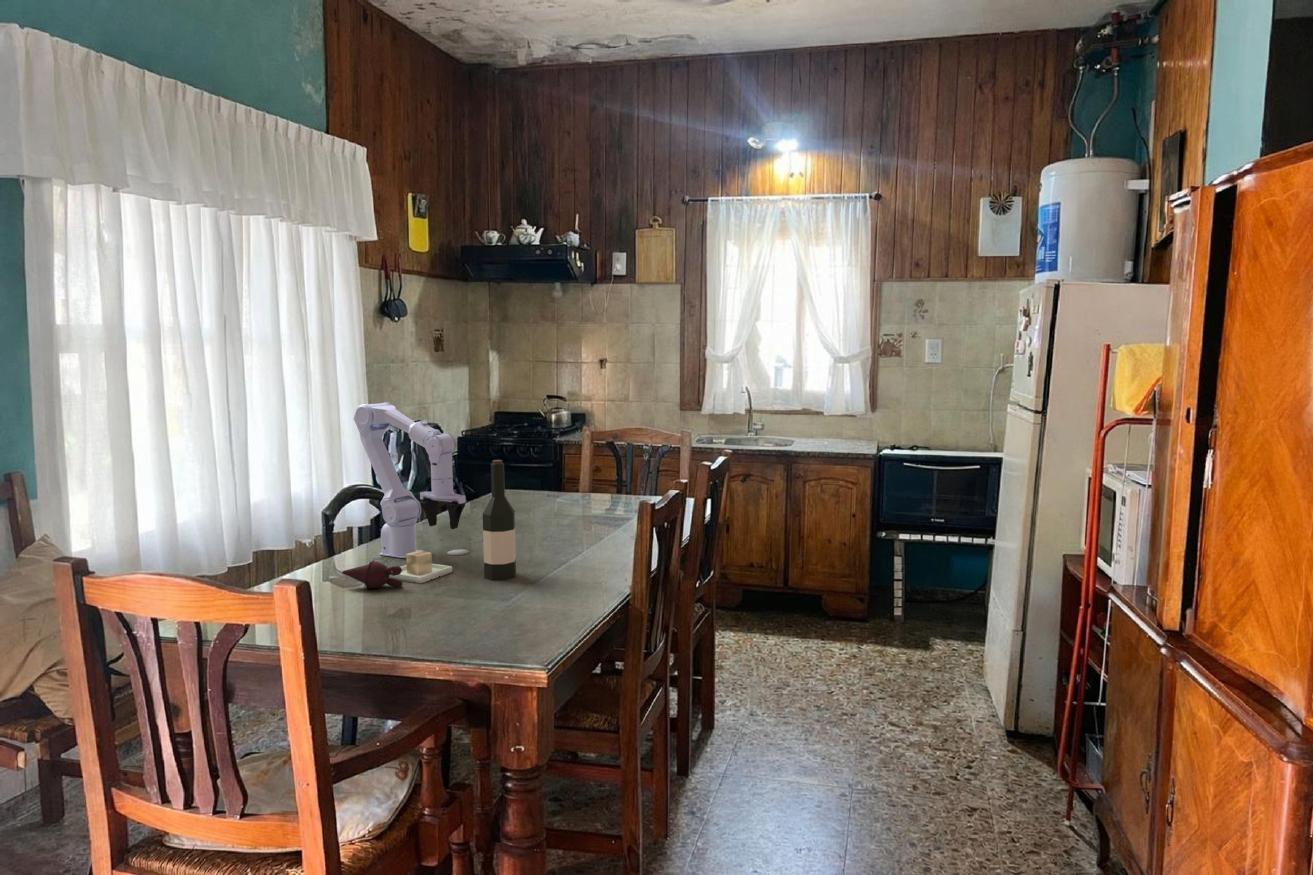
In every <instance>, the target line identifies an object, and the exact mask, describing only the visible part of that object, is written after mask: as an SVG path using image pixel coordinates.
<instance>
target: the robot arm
mask: <svg viewBox="0 0 1313 875" xmlns="http://www.w3.org/2000/svg"><path fill="white" fill-rule="evenodd" d="M353 421H354V423H355V425H356V427H357V429H358V432H359V436H360V441H361V444H362V447H363V448H364V451H365V453H366V455H367V458H368V459H369V462H370V464H371V467H372V469H373V471H374V474H375V476H376V478H377V480H378V483H379V485H380V488H381V490H382V492H383V494H384V495H383V497H382V499H381V501H380V503H379V504H380V505H379V506H380V507H381V512H382V518H383V520H384V522H385V523H384V525H383V526H382V528H381V530H380V544H381V546H380V548H381V550H380V551H381V552H379V555H380V556H385V557H392V558H400V559H406V554H408V553H412V552H416V551H423V550H421V549H418V548H417V524H416V523H418V518H419V517H420V516H421V514H422V509H423V511H424V514H425V516H426V519H427V522H428V525H429V527H435V526H437V521H438V507H439V504H440V502H446V504H445V506H446V509H447V513H448V516H449V527H450V529H451V530H455V529H458V526H459V521H460V518H461V515H462V514H463V511H464V508H465V506H466V495H462V494H459V493H456V492H454V487H453V486H454V482H453V480H454V478H453V476H454V475H453V453H455V451H456V449H457V441H456V438H455V437H454V435H452V434H451V433H450V432H444V433H442V432H441V431H440V430H439V429H435V428H433V427H431V426H430V425H429V424H428V422H426V421H425V420H424V421H416V422H415V421H414V420H412V419H411V418H410V417H408V416H406V415H405V414H404V413H402V412H400V411H399V410H398V409H397V408H396V406H395V405H392V404H391V403H389V402H385V401H384V402H382V403H370V404H369V403H368V404H365V403H362V404H359V405H358V406H357V407H356V409H355V412H354V415H353ZM390 426H393V427H395V428H397V429H399V430H401V431H403V432H405V433H407V434H408V437H409V439H410V440H411V441H413V442H414V443H416V444H418V445H419V446H421V447H423V448H424V449H425V451H426V453H427V455H428V460H429V462H430V478H431V479H430V481H431V482H430V484H431V487H430V488H431V491H421V492H419V499H420V500H422V501H419V500H418V499H417V498H416V497H415V496H414V493H413V492H412V491H410V490H409V489H407V488H405V487H404V486H403V483H402V481H401V479H400V476H399V475H398V472H397V470H396V467H395V465H394V462H393V461H392V458H391V456H390V454H389V452H388V449H387V447H386V445H385V442H384V441H383V436H384V435H385V434H386V432H387V431H388V430H389V428H390Z"/></svg>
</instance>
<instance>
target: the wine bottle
mask: <svg viewBox="0 0 1313 875" xmlns="http://www.w3.org/2000/svg"><path fill="white" fill-rule="evenodd" d="M490 482H491V483H490V484H491V497H490V499H489V501H488V503H487V505H486V506H485V509H484V510H483V512H482V532H483V533H482V537H483V538H482V542H483V546H482V548H483V572H484V573H483V574H484V578H483V579H486V580H489V581H491V582H493V581H495V582H496V581H508V580H511V579H514V578H516V576H517V562H516V560H517V558H516V557H517V556H516V553H517V552H516V522H515V521H516V519H515V518H516V514H515V510H514V507H513V506H512V505H511V502H510V501H509V500H508V499H507V497H506V492H505V488H506V487H505V463H503V460H502V459H494V460H492V463H490Z"/></svg>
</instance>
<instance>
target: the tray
mask: <svg viewBox="0 0 1313 875" xmlns="http://www.w3.org/2000/svg"><path fill="white" fill-rule="evenodd" d="M400 567H401V569H402V572H401V573H400V574H399V575H395V576H392V575H389V578H394V579H398V580H400V581H401V580H402V581H401V582H403V581H404V582H408V583H409V582H410V583H414V582H415V584H423V583H425V582H428V581H431V579H432V580H433V579H436V578H439V576H440V577H442V576H445V575H448V574H450V573H453V566H452V565H445V564H437V563H432V572H429V573H426V574H422V575H419V576H418V575H414V574H409V573H407V564H405V565H402V566H400Z"/></svg>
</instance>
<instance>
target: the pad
mask: <svg viewBox="0 0 1313 875" xmlns="http://www.w3.org/2000/svg"><path fill="white" fill-rule="evenodd" d="M469 553H470V550H468V549H465V548H464V549H462V548H461V549H459V548H458V549H452V550H448V551H447V555H448V556H455V555H456V556H465V555H467V554H469Z"/></svg>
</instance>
